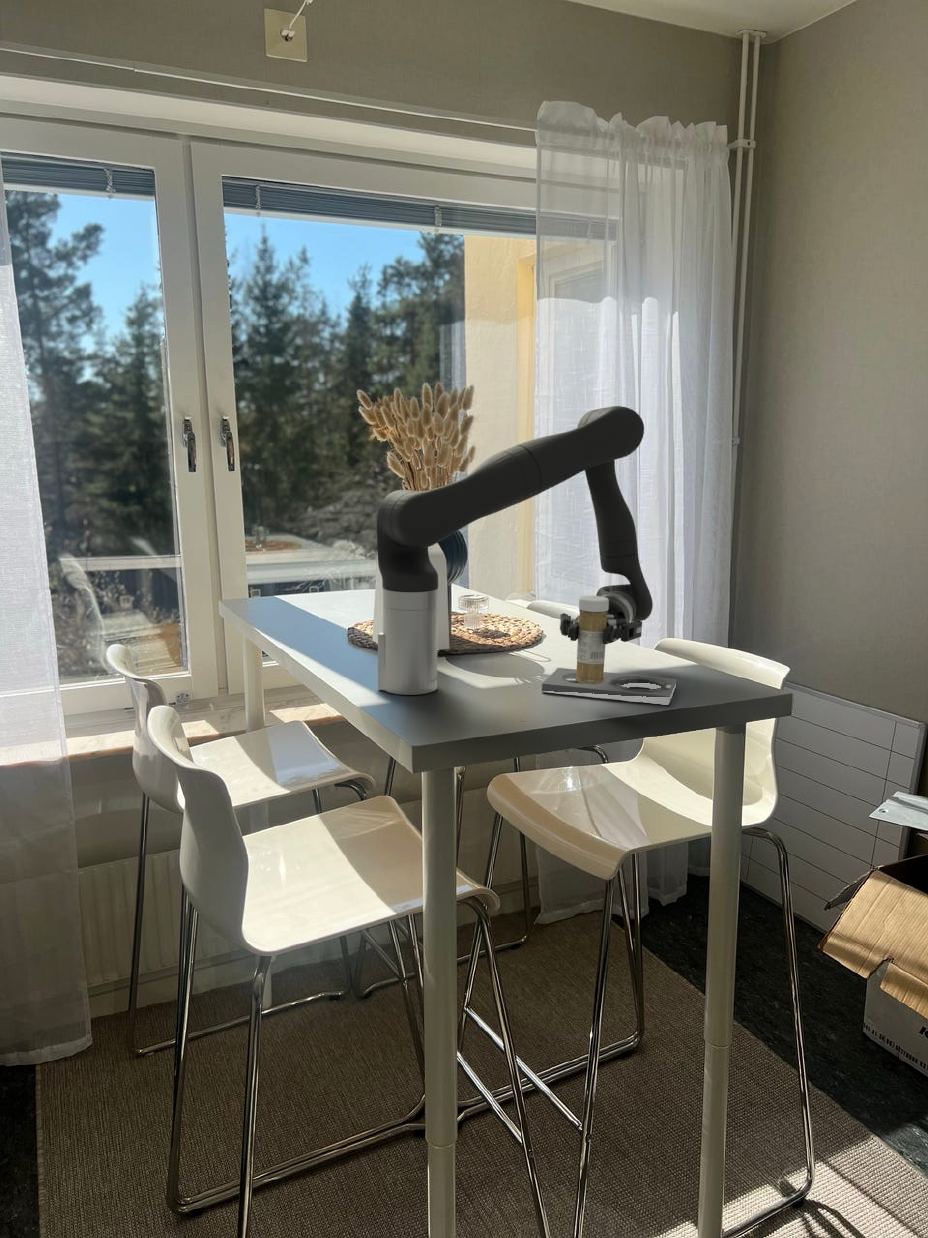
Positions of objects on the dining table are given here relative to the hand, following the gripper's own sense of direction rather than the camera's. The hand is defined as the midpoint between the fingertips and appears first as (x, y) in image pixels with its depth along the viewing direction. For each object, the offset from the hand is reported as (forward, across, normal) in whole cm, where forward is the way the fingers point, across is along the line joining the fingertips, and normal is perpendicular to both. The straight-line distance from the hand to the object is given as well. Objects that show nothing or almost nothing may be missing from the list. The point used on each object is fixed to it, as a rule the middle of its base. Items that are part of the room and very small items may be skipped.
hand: (589, 635), depth 139 cm
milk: (-33, -42, +13) cm, 55 cm away
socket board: (-15, +2, +12) cm, 19 cm away
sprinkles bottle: (-3, 0, +8) cm, 8 cm away
